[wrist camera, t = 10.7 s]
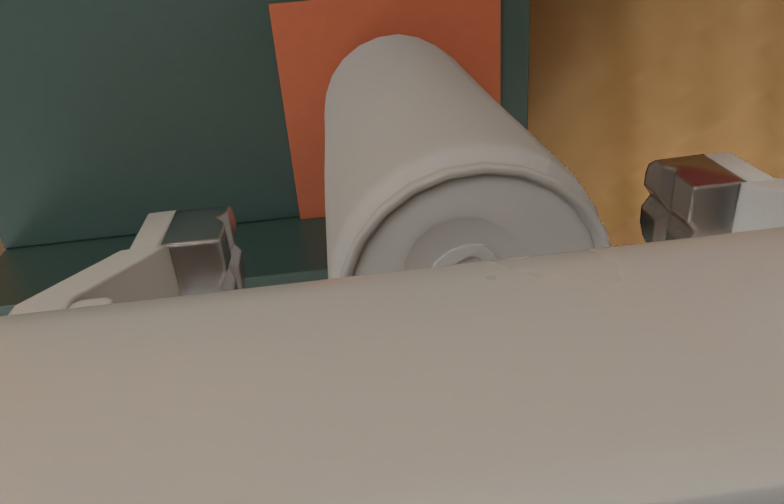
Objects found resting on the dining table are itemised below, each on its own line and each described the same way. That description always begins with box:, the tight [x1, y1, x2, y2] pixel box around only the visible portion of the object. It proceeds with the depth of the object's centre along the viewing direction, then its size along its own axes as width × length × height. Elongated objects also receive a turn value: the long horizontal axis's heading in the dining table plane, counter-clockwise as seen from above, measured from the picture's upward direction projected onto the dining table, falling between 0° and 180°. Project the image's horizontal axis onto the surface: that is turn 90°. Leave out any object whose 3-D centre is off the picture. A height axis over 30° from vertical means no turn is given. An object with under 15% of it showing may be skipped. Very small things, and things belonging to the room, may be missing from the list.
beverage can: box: [324, 34, 611, 279], centre depth 16 cm, size 5×5×12 cm
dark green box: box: [0, 0, 530, 316], centre depth 21 cm, size 15×18×11 cm
